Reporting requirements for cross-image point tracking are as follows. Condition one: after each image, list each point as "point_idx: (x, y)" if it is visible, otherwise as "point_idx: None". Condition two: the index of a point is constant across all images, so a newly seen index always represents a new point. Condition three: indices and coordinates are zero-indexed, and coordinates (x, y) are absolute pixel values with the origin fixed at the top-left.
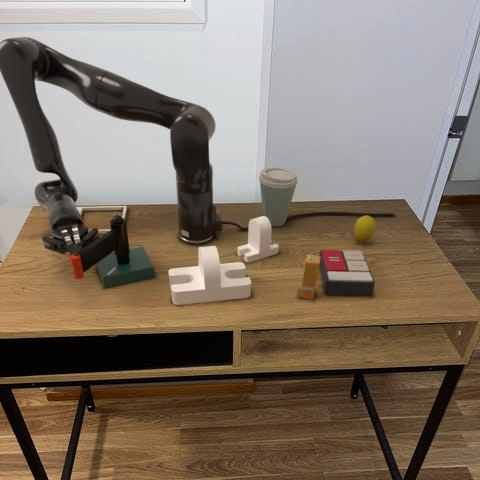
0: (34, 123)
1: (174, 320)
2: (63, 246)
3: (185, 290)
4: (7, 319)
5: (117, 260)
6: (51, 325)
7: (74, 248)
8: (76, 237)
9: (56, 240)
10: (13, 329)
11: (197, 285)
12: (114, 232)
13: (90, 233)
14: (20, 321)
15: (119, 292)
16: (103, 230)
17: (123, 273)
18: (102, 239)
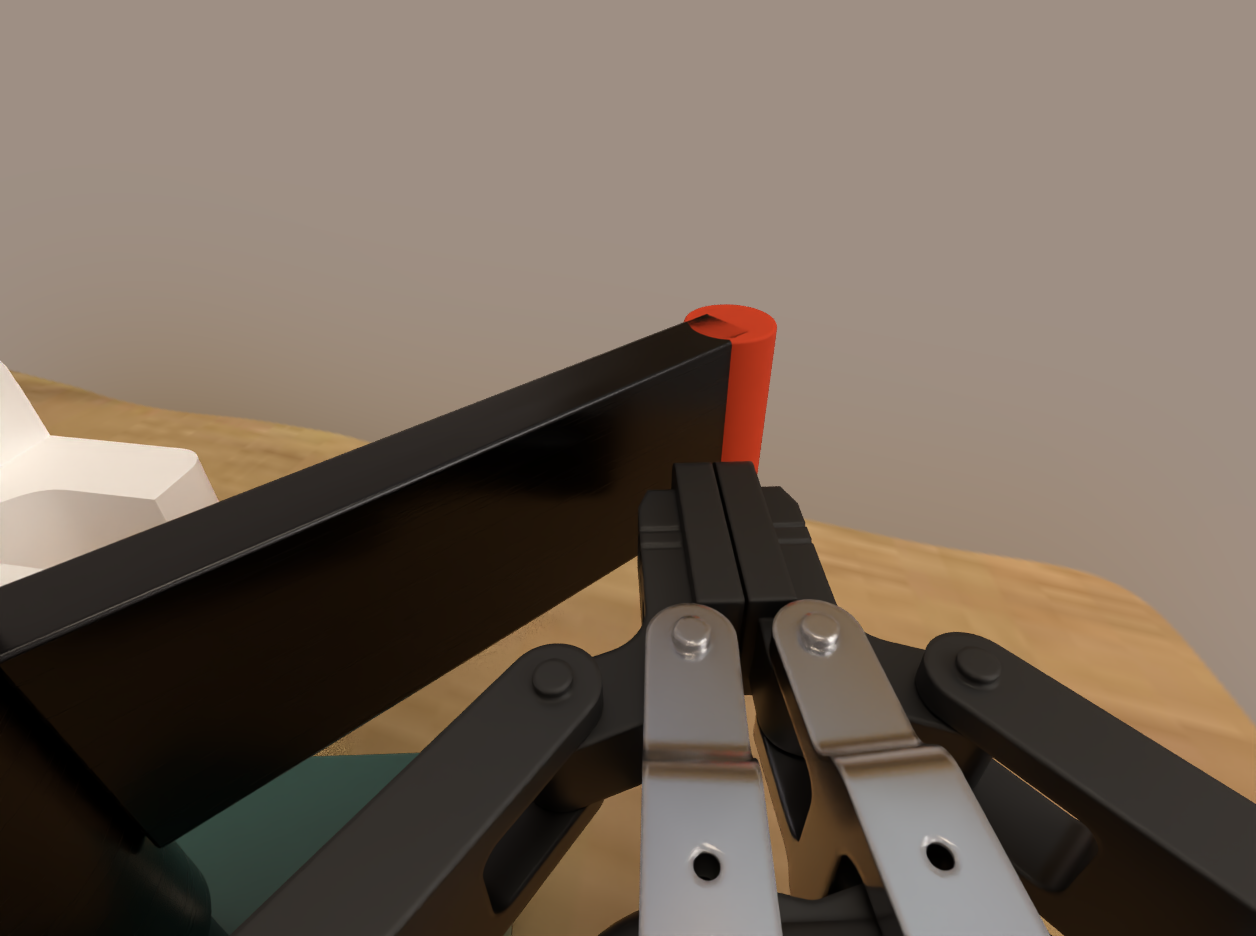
0: None
1: (318, 453)
2: (916, 651)
3: (138, 449)
4: (1192, 663)
5: None
6: (882, 554)
7: (740, 518)
8: (703, 756)
9: (1112, 788)
10: (1092, 577)
11: (42, 464)
12: (40, 573)
13: (381, 867)
14: (1086, 624)
15: (441, 715)
16: None
17: (315, 757)
18: (346, 456)
